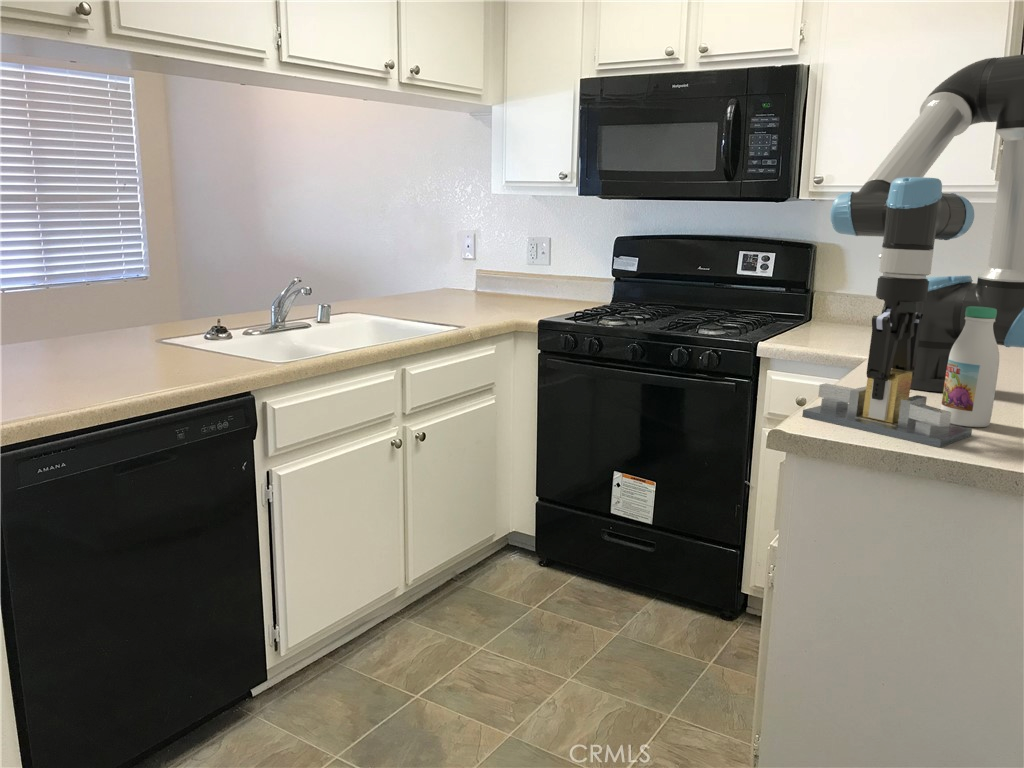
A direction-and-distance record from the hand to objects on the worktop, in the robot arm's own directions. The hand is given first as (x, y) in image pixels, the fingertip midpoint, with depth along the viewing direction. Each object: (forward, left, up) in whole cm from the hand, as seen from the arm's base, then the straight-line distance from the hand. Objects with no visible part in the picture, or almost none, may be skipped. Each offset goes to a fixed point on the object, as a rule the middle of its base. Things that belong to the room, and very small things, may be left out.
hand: (885, 415), depth 138 cm
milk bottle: (-15, +7, -2) cm, 17 cm away
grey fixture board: (0, 0, -2) cm, 2 cm away
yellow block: (0, 0, 0) cm, 0 cm away
